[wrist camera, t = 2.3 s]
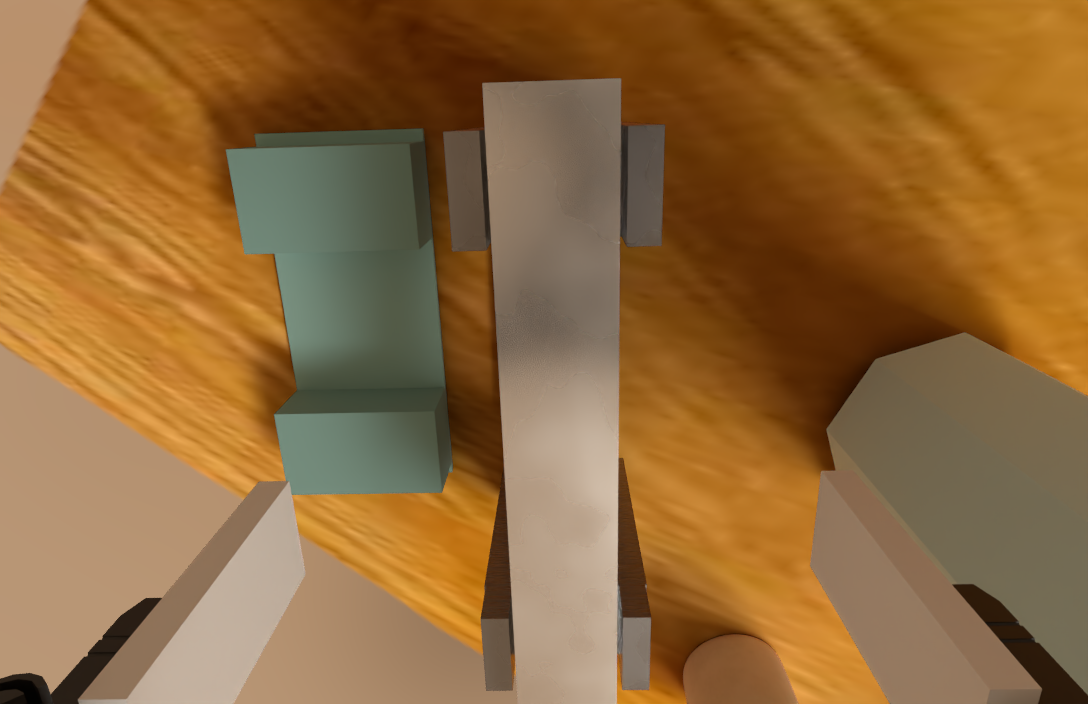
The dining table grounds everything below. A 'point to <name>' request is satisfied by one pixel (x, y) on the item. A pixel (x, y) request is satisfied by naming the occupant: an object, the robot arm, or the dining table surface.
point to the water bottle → (982, 477)
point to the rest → (352, 306)
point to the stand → (633, 613)
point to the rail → (559, 374)
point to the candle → (736, 673)
